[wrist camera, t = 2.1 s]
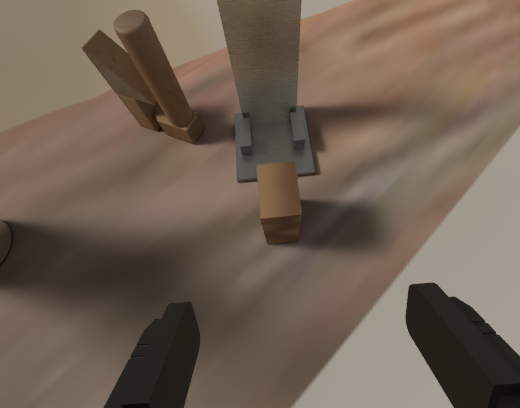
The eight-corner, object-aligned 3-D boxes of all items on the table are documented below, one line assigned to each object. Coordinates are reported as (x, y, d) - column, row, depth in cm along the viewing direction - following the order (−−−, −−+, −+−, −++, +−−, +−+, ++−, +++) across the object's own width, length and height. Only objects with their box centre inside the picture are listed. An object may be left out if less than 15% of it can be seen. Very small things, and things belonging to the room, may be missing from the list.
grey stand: (238, 182, 39) (188, 47, 19) (235, 111, 44) (194, -52, 24) (314, 174, 38) (343, 26, 19) (302, 103, 43) (315, -70, 24)
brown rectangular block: (267, 244, 35) (260, 218, 26) (263, 202, 37) (256, 164, 28) (298, 241, 35) (302, 214, 25) (292, 199, 37) (294, 160, 28)
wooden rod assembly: (152, 110, 46) (75, -7, 29) (205, 128, 43) (155, 11, 27) (140, 126, 45) (53, 15, 28) (194, 145, 42) (134, 35, 26)
